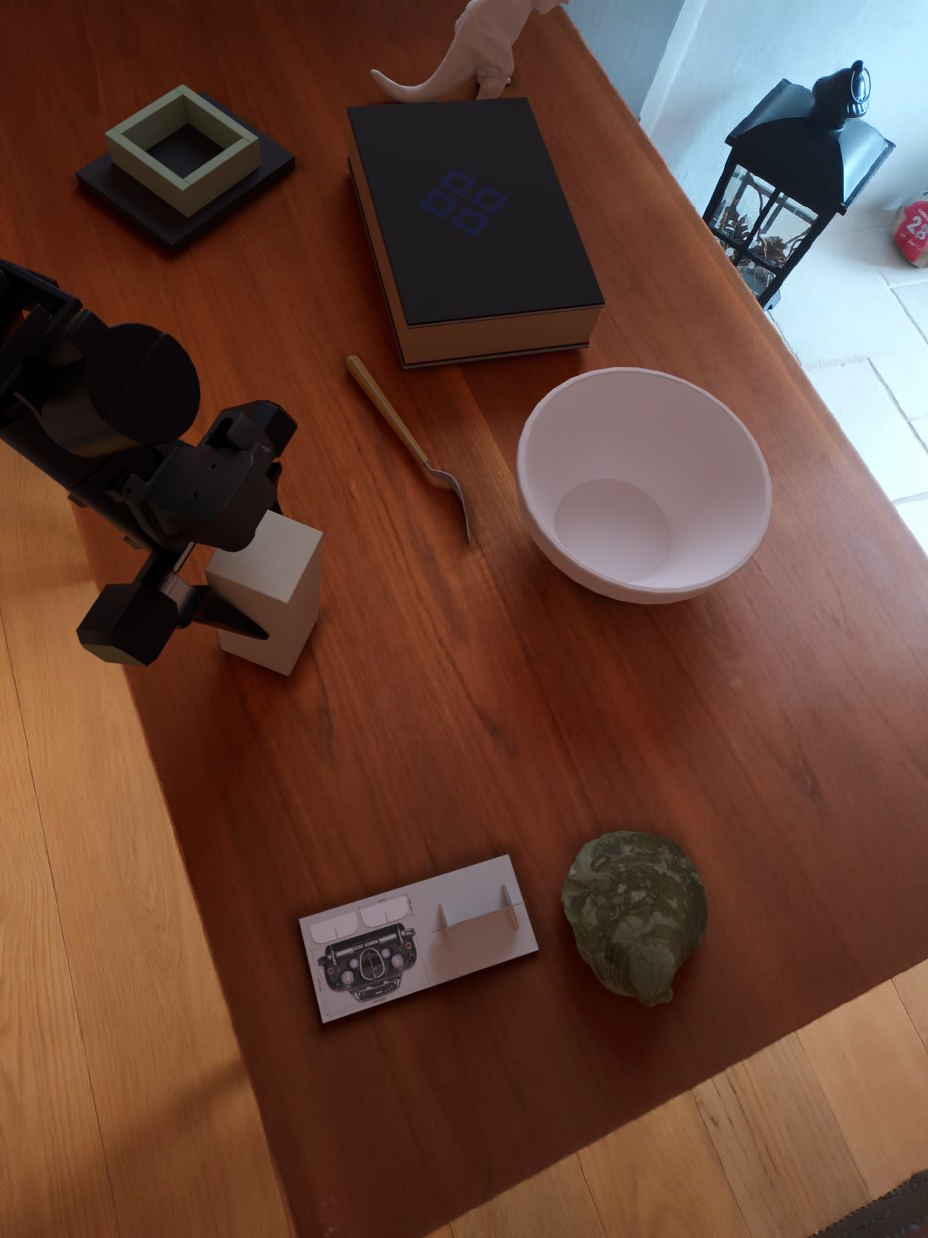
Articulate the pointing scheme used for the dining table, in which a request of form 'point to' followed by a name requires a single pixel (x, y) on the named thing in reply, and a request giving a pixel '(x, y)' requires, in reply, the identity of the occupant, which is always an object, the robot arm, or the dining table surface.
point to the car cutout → (416, 937)
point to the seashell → (635, 912)
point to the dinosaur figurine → (475, 51)
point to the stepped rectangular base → (183, 167)
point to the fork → (397, 422)
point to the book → (470, 231)
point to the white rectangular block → (271, 590)
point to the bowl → (641, 485)
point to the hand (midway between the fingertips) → (284, 603)
